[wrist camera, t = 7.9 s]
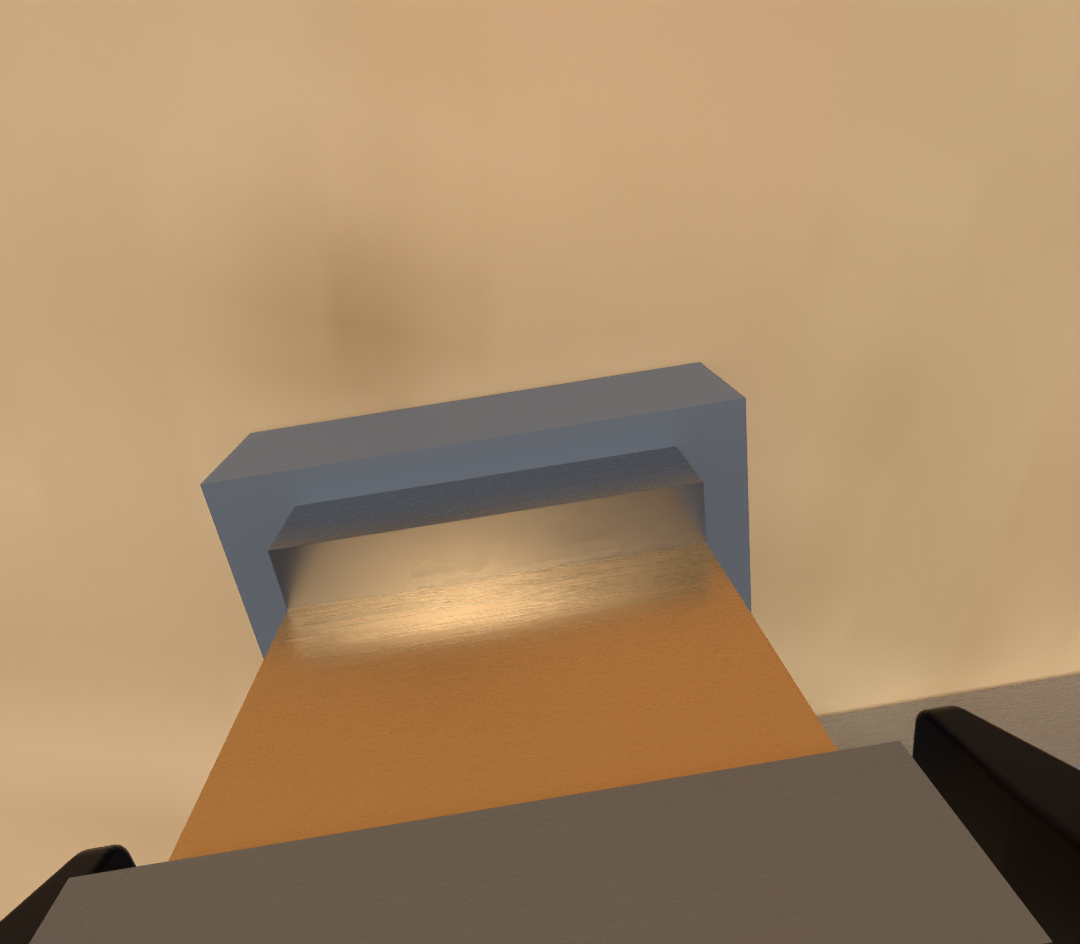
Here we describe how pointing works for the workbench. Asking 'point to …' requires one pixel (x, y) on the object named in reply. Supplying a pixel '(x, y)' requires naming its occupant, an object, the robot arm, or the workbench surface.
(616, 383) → the stand
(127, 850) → the robot arm
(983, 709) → the stand
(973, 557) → the workbench surface
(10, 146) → the workbench surface
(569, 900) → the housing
